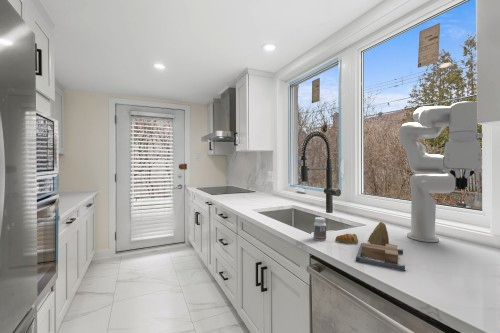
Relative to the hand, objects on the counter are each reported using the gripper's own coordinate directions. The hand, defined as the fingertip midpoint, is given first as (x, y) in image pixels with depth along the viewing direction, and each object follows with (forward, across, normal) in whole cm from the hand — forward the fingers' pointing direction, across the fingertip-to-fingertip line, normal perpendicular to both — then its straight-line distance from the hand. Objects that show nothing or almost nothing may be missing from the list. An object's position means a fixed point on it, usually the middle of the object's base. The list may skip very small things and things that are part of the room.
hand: (461, 189), depth 86 cm
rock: (+27, +26, -7) cm, 38 cm away
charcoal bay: (+27, +24, +8) cm, 37 cm away
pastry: (+28, +38, -5) cm, 47 cm away
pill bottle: (+27, +50, -2) cm, 57 cm away
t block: (+27, +25, +8) cm, 38 cm away
